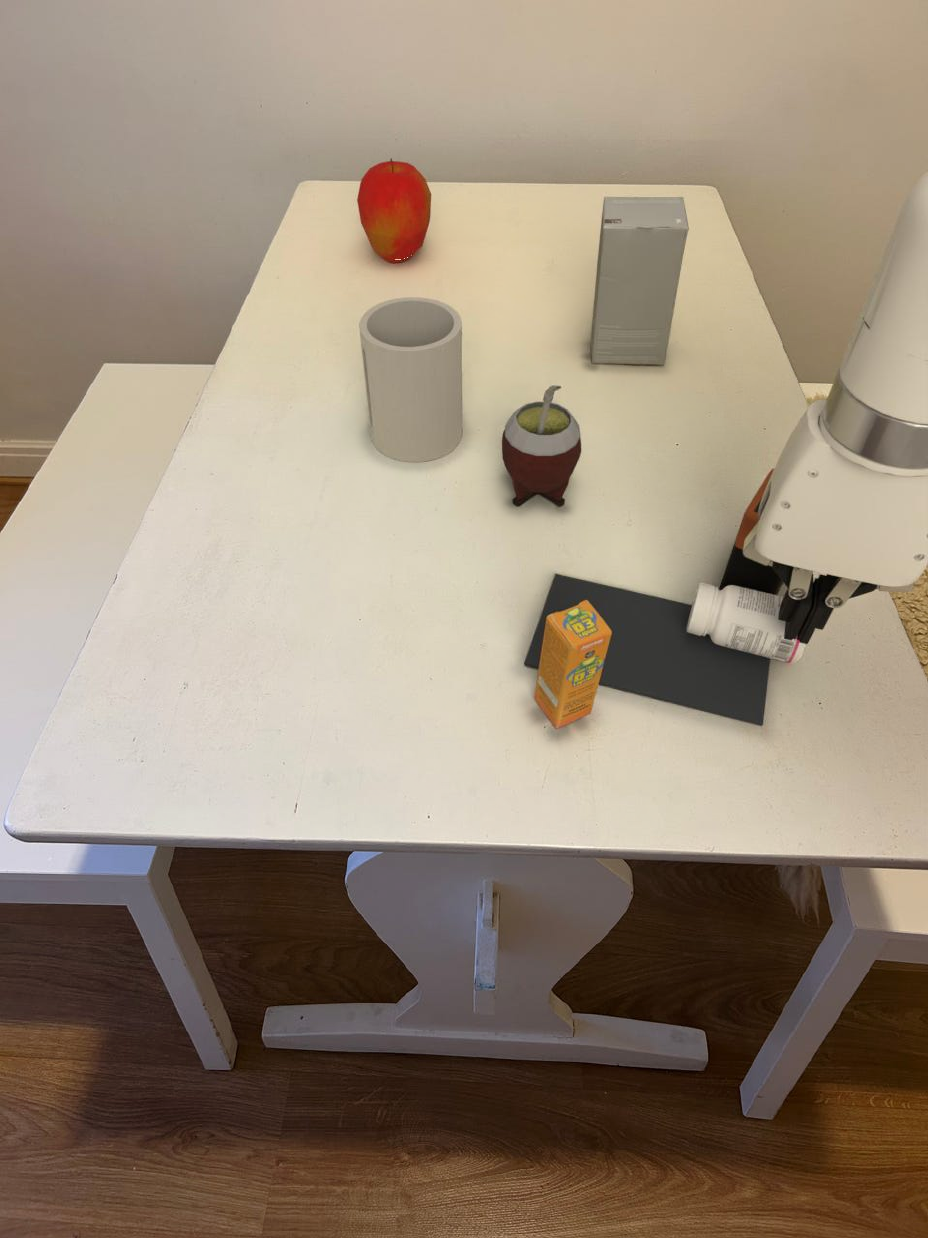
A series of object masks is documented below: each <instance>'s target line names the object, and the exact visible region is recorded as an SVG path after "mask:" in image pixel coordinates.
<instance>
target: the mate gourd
mask: <svg viewBox="0 0 928 1238" xmlns="http://www.w3.org/2000/svg"><path fill="white" fill-rule="evenodd" d="M561 389H562V385H557V384H556V385H550V386H548V388H547V389H545V391H544V393H543V398H542V401H533V402H528V403H525V404H523V405H522V406H521V407H519V408H517V409H516V410H515V411H514V412H513V413H511V415H510V417H509V418H508V420H507V422H506V423H505V425H504V429H503V432H502V436H501V454H502V455H501V457H502V461H503V464H504V467H505V469H506V471H507V473H508V475H509V476H510V478H511V480H512V485H513V491H514V494H515V496H514V497H513V499H511V500H512V504H513V505H514V506H515V507H521V506H523V505H524V504H525V503H526V502H528V501H529V500H531V499H533V498H534V497H535V496H537V495H538V496H540V497H543V498H544V499H545V500H547V501H549V502H550V503H552V505H553V504H554V505H555V506H557V507H558V508H559V507H560V508H561V507H562V506H564V505H565V502H566V498H564V497H563V496H564V494H565V492H566V490H567V488H568V485H569V484H570V479H571V477H572V475H573V474H574V472H575V469H576V467H577V465H578V462H579V460H580V458H581V453H582V439H581V437H582V436H581V429H580V424H579V423H578V421H577V418H575V417H574V416H573V414H572V413H571V412H570V411H569V409H568V408H566V407H564V406H562V405H560V404H559V403H554V402H553V399H554V397H555V392H556V391H559V390H561Z"/></svg>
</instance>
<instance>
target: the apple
mask: <svg viewBox="0 0 928 1238" xmlns="http://www.w3.org/2000/svg"><path fill="white" fill-rule="evenodd" d="M358 189H359V190H358V192H357V193H358V194H357V198H356V202H357V207H358V213H359V220H360V223H361V226H362V229H363V231H364V233H365V235H366V237H367V240H368V243H369V244H370V247H371V249H372V250H373V252H374V253H375V254H377V255H378V256H379V257H380V258H381V259H383V260H384V261H386V262H387V263H389V264H400V263H404V262H406V261H408V260H410V258H412V257H413V256H414V255H415V254H416V253H417V252H418V251H419V250H420V249H421V248H423V245H424V242H425V239H426V236H427V233H428V229H429V227H430V226H429V225H430V221H431V214H432V213H431V211H432V209H431V208H432V192H431V190H430V187H429V184H428V182H427V180H426V178H425V177H424V175H423V174H422V173H421V172H420V171H419V170H418V169H417V168H416V167H415V166H414V165H413V164H411V163H408V162H405V161H398V160H393V158H392V157H391V158H390V160H388V161H383V162H379V163H377V164H375V165H373V166H371V167H369V168H368V170H367V171H366V172H365V173H364V175H363V176H362V178H361V180H360V184H359V188H358ZM413 254H414V255H413ZM411 255H412V256H411ZM407 257H408V258H407ZM404 258H405V259H404ZM395 259H401V260H395Z"/></svg>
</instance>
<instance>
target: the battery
mask: <svg viewBox="0 0 928 1238" xmlns="http://www.w3.org/2000/svg"><path fill="white" fill-rule="evenodd" d="M774 468H775V467H773V468H771V470H769V472H768V474H767V475H766V477H765V479H764V480H763V481H762V483H761V485H760V486H759V487H758V490H757V491H756V493H755V495H754V496H753V497H752V499H751V501H750V503H749V504H748V506H747V507H746V509H745V511H744V513H743V516H742V518H741V521H740V524H739V527H738V531H737V533H736V537H735V539H734V543H733V545H732V548H731V551H730V554H729V557H728V560H727V562H726V566H725V569H724V571H723V574H722V577H721V578H722V579H721V581H720V584H719V586H718V590H723V589H724V588H725V587H726V586H729V585H734V586H739V587H743V588H748V589H752V590H756V591H760V592H765V593H769V594H773V595H777V596H778V594H779V592H780V590H781V588H782V587H783V585H784V582H783V581H782V580H781V579H780V578H779V576H778V575H777V574H776V573H775V571H774V570H773V568H772V567H771V566H769V565H768V566H765V565H763V564H761V563H758V562H756V561H753V560H751V559H749V558H746V557H745V556H744V555H743V548H744V541H745V538H746V537H747V536H748V534H749V533H750V532H751V531H752V529H753V528H754V527H755V525H756V524H757V523H758V521H759V520H760V517H758V510H759V506H760V503H761V500H762V497H763V494H764V492H765V489H766V487H767V484H768V482H769V480H770V477H771V475H772V473H773V470H774Z"/></svg>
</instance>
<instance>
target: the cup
mask: <svg viewBox="0 0 928 1238" xmlns="http://www.w3.org/2000/svg"><path fill="white" fill-rule="evenodd" d="M358 323H359V324H358V328H359V338H360V348H361V356H362V365H363V366H362V367H363V376H364V384H365V393H366V402H367V414H368V421H369V431H370V439H371V442H372V445H373V446H374V447H375V449H376V450H378V452H380V453H381V454H382V455H384V456H386V457H388V458H390V459H393V460H396V461H399V462H400V461H401V462H406V463H422V462H423V463H424V462H430V461H434V460H437V459H440V458H442V457H444V456H447V455H449V454H450V453H451V452H452V451H453V450H455V449H456V448H457V447H458V445H460V442H461V441H462V439H463V321H462V317H461V315H460V314H459V312H458V311H457V310H456V309H455V308H454V307H452V306H450V305H449V304H447V303H445V302H443V301H440V300H436V299H433V298H428V297H420V296H419V297H418V296H417V297H416V296H407V297H399V298H393V299H389V300H385V301H383V302H380V303H377V304H376V305H374V306H371V307H370V308H369V309H367V310H366V312H365V313H364V314H363V315H362V316H361V318H360V320H359V322H358Z"/></svg>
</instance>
